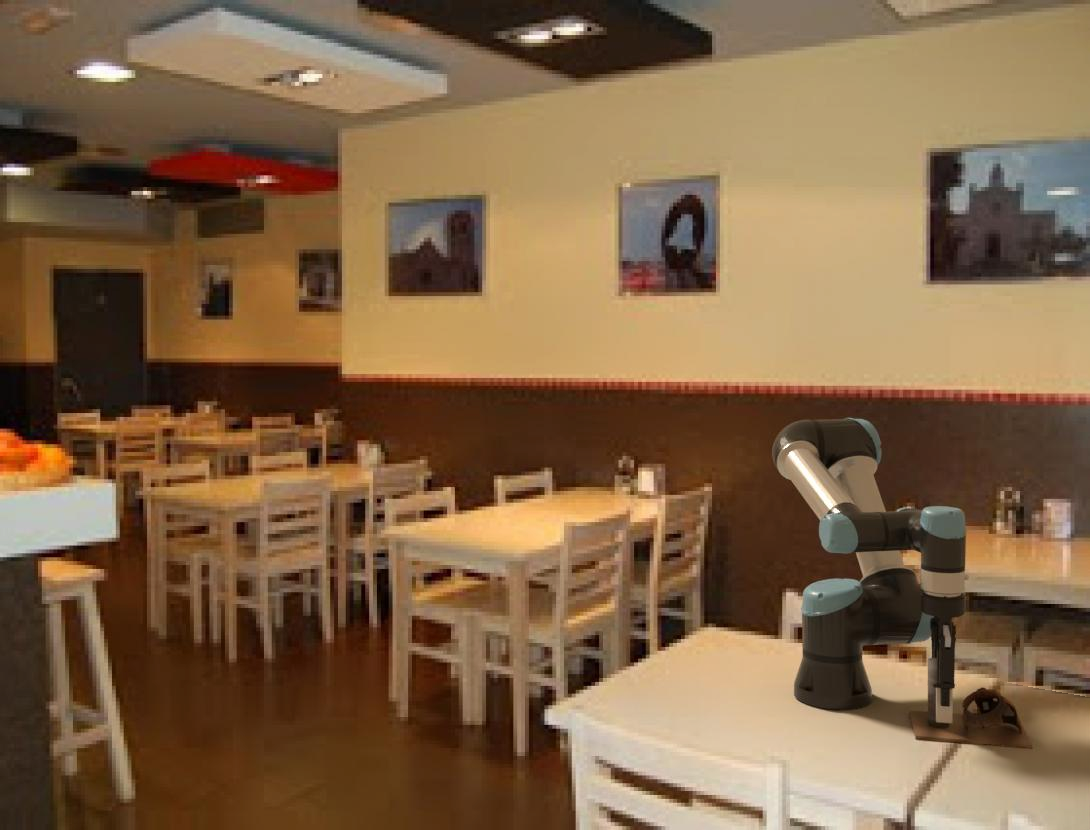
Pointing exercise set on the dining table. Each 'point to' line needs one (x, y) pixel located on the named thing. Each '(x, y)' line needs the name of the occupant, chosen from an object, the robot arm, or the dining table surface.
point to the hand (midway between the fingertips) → (942, 717)
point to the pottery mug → (989, 710)
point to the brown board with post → (960, 724)
